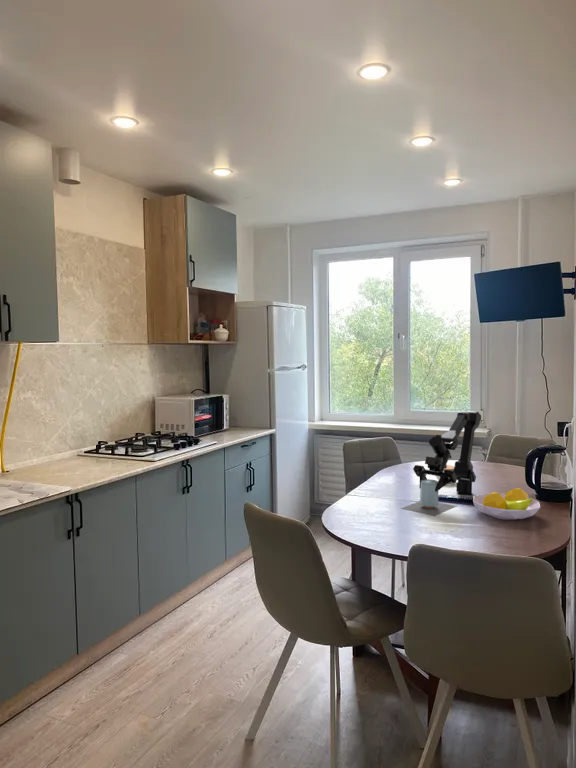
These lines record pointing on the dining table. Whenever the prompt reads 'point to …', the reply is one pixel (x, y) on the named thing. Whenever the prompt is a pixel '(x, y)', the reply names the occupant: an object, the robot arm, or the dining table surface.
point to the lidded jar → (446, 469)
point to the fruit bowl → (507, 504)
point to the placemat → (434, 511)
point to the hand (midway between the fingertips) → (427, 489)
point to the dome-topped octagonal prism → (428, 492)
